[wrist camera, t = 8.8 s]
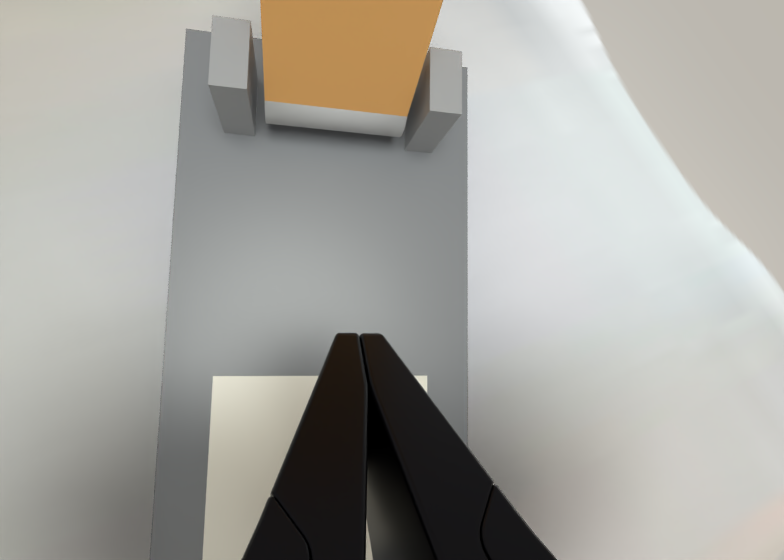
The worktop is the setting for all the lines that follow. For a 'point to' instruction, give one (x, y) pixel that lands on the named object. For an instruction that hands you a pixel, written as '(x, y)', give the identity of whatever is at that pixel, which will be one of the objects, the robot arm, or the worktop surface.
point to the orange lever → (344, 62)
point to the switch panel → (295, 278)
